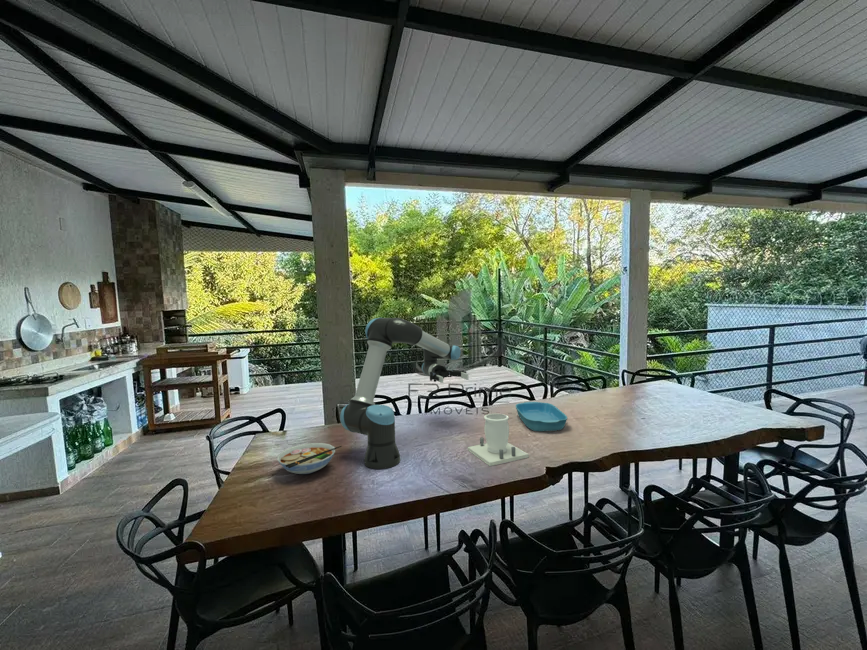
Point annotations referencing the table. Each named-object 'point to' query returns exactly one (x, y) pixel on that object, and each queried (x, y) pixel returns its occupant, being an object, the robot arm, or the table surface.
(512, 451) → the tray
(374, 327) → the robot arm
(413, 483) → the table surface
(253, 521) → the table surface
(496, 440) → the jar
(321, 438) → the table surface
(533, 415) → the casserole dish
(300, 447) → the ramen bowl
